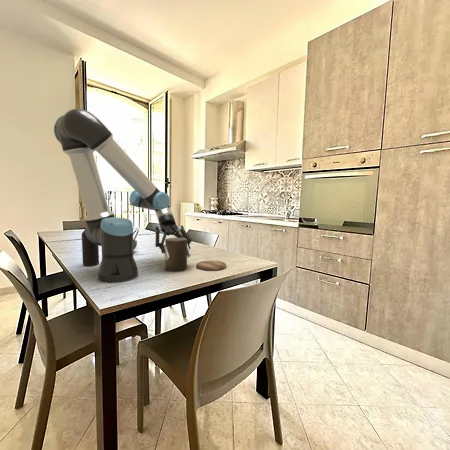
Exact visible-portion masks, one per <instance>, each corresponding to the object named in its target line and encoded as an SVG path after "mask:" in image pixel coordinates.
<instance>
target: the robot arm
mask: <svg viewBox="0 0 450 450" xmlns="http://www.w3.org/2000/svg"><path fill="white" fill-rule="evenodd" d="M53 133H54V137H55V138H56V140H57V141H58V142H59V144H60V145H61V148H62V152H63V153H64V154H66V155H67V156H68V157H69V159H70V163H71V166H72V170H73V172H74V176H75V178H76V182H77V185H78V190H79V192H80V196H81V198H82V202H83V205H84V208H85V211H86V215H85V217H84V222H85V223H86V236H87V238H88V239H89V240H90V241H91V242H92V243H94V244H96V245H98V246H99V247H101V260H100V263H99V267H98V270H97V280H99V281H100V282H102V283H103V282H104V283H119V282H126V281H130V280H134V279H135V278H137V277H138V276H139V268H138V267H137V263H136V261H135V258H134V253H133V251H134V250H133V240H134V227H133V222H132V220H130V219H128V218H124V217H123V218H122V217H116V216H115V213H114V211H112V210H110V209H109V205H108V201H107V199H106V195H105V191H104V186H103V183H102V180H101V176H100V173H99V170H98V166H97V163H96V159H95V155H94V152H97V153H98V154H99V155H100V156H101V157H102V158H103V159H104V160H105V161H106V162H107V163H108V164H109V165H110V166H111V167H112V169H114V170H115V172H117V173H118V175H119V176H121V178H122V179H123V180H124V181H125V182H127V183H128V185H129V186H130V187H131V188H132V189H133V190H132V192H131V193H130V195H129V204H130V205H131V206H132V207H136V208H141V209H146V210H151V211H154V212H155V214H156V218H157V221H158V225H159V226H155V228H154V233H155V241H154V242H155V243H154V245H155V248H159V249H160V250H161V251H160V253H162V254H163V255H164V258H166V260H168V259H169V254H168V251H167V247H166V245H165V244H164V243H165V239H167V236H174V238H176V237H177V238H186V239H187V259H189V258H190V257H191V255H192V253H191V246H190V244H191V243H192V242H193V240H192V238H191V237H190V235H189V234H188V233H187V231H186V229H185V228H184V227H185V226H184V225H181V226H178V225H177V222H176V219H175V217H174V214H173V211H172V209H171V206H170V202H171V198H170V196H169V194H168V193H166V192H164V191H160V190H159V188H158V187H157V186H156V185H155V183H153V182H152V181H151V180H150V178H149V177H148V176H147V175H146V174H145V173H144V172H143V171H142V169H140V167H139V166H138V165H137V164H136V163H135V161H133V159H131V157H130V156H129V155H128V154H127V153H126V152H125V150H124V149H123V148H122V147H121V146H120V145H119V144H118V143H117V141H116V140H115V139H114V137H113V136H114V135H113V133H112V132H111V130H110V129H108V127H107V126H106V125H105V124H104V123H103V122H102V121H101V120H100V119H99V118H98V117H97V116H95V114H93V113H91V112H90V111H88V110H85V109H82V108H73V109H72V108H71V109H69V110H68V111H67V112H65V113H64V115H61V116H59V117H58V118H57V119H56V121H55V124H54V125H53ZM160 232H162V233H163V236H162V239H161V242H160V235H161V234H160Z"/></svg>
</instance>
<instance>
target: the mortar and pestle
mask: <svg viewBox="0 0 450 450" xmlns="http://www.w3.org/2000/svg"><path fill="white" fill-rule="evenodd" d="M137 245H138V241H137V240H136V239H133V254H134V253H135V249H136V248H137Z"/></svg>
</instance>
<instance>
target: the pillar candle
mask: <svg viewBox="0 0 450 450" xmlns="http://www.w3.org/2000/svg"><path fill="white" fill-rule="evenodd" d="M164 243H165V244H164V245H166V247H167V251H168V254H169V259H168V260H166V258H165V257H164V258H165V260H164V261H165V263H164V265H165V271H168V272H175V273H177V272H184V271H186V270H187V269H188V257H187V239H186V238H177V237H170V238H167V237H166V238H165V241H164Z"/></svg>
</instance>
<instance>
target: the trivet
mask: <svg viewBox="0 0 450 450" xmlns="http://www.w3.org/2000/svg"><path fill="white" fill-rule="evenodd" d="M195 265H196V266H195V267H196V269H198V270H200V271H204V272H205V271H206V272H216V271H217V272H218V271H223V270H225V269H226V268H227V264H226V263H225V262H223V261H219V260H204V261H202V260H201V261H199V262H197V263H196V264H195Z"/></svg>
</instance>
